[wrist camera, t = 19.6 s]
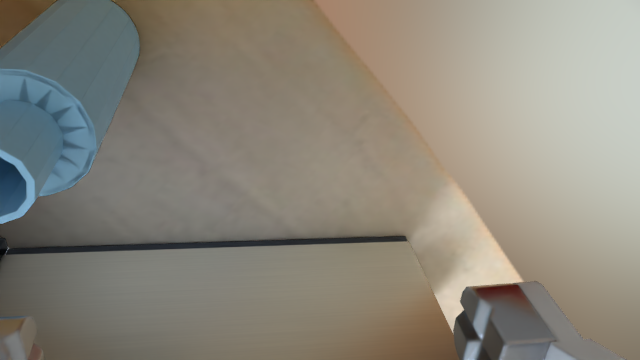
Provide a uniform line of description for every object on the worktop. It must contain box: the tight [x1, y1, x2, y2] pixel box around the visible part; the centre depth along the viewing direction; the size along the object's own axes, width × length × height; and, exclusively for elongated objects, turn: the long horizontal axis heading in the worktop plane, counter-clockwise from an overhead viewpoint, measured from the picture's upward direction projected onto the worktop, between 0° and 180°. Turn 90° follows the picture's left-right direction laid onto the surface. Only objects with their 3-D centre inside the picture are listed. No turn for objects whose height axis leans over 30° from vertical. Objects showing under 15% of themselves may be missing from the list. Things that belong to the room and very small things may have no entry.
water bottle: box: [0, 0, 140, 224], centre depth 27 cm, size 6×6×18 cm
